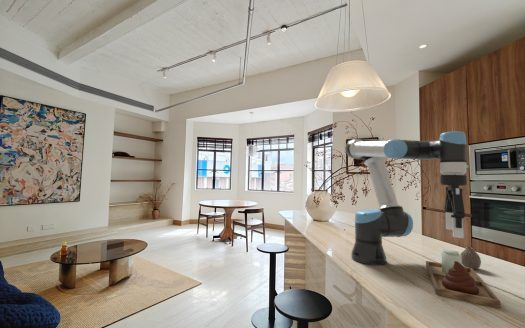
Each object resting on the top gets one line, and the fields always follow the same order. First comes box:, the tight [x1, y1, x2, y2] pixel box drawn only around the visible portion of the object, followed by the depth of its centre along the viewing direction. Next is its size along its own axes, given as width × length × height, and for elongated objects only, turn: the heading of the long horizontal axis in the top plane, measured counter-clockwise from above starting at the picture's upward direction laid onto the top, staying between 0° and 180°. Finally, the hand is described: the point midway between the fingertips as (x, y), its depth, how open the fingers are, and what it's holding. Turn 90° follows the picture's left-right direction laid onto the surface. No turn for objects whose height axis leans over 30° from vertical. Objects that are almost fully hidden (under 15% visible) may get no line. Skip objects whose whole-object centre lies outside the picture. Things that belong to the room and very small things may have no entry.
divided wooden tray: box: [425, 260, 502, 309], centre depth 88 cm, size 16×31×2 cm, turn 150°
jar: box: [440, 248, 462, 275], centre depth 95 cm, size 6×6×9 cm
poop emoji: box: [442, 261, 479, 295], centre depth 82 cm, size 10×8×9 cm
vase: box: [460, 246, 482, 271], centre depth 104 cm, size 7×7×9 cm
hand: (453, 233), depth 85 cm, fingers open, 13 cm apart
